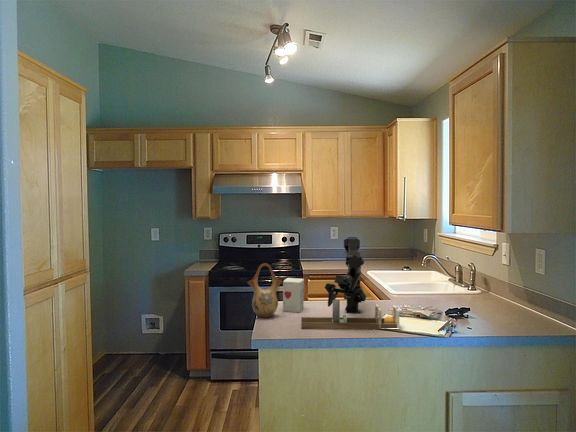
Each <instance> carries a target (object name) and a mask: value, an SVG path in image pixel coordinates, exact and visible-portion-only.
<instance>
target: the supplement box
mask: <svg viewBox="0 0 576 432" xmlns="http://www.w3.org/2000/svg"><path fill="white" fill-rule="evenodd" d="M304 286H305V279H304V278H295V277H287V278H285V279H284V280H283V281H282V311H283V312H293V313H301V312H302V311H303V309H304V306H305V305H304V303H305V301H304V299H305V296H304V293H305V291H304V290H305V289H304V288H305V287H304Z"/></svg>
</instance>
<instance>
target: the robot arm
mask: <svg viewBox="0 0 576 432" xmlns="http://www.w3.org/2000/svg"><path fill="white" fill-rule="evenodd" d="M343 249H344V253H345V255H346V256H345V258H344V259H345V260H344V261H345V263H344V264H345V265H346V267H347V271H346V274H345V275H339V274H336V275H335V278H334V281H333V282H334V283H330V282H328V283H326V284H325V286H324V289H325V290H326V291H327V293H328V299H327V307H329V308H330V307H331V306H332V305H333V300H337V295H338V294H343V300H346V306H345V308H344V309H345V312H346V313H349V314H350V313H354V314H355V313H356V314H358V313H359V314H360V313H361V311H360V309H359V303H362V302H363V303H364V302H366V299H367V295H366V294H365V291H364V290H363V289H362V287H361V282H360V277H361V275H362V266H363V265H364V264H365V262H364V261H365V260H364V258H363V257H362V256H361V252H359V250H360V249H361V240H360V239H358V237H356V236H348V237H347V238H344V239H343ZM335 283H336V284H337V286H338V287H337V286H336V284H335Z"/></svg>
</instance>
